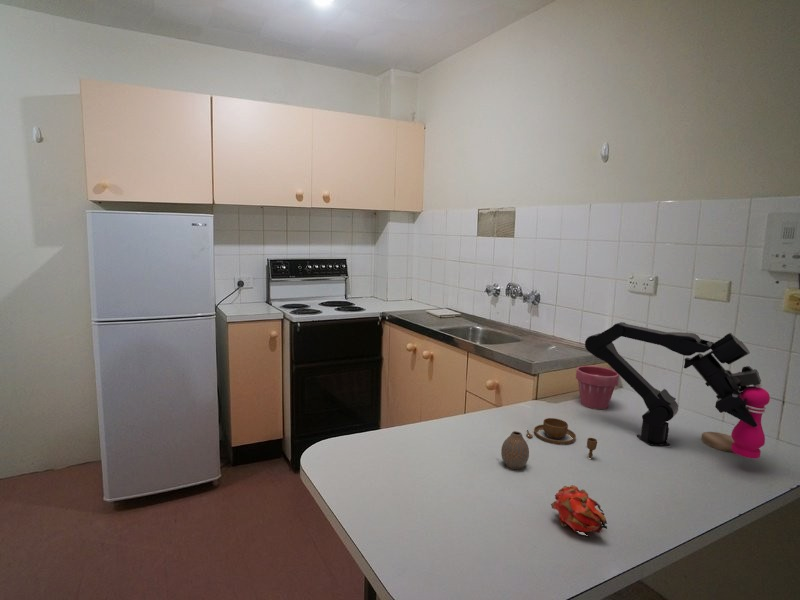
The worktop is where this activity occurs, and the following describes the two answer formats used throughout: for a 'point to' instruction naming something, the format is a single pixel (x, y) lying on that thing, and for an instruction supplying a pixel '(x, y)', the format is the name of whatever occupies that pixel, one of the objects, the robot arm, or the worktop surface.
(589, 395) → the plant pot
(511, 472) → the worktop surface
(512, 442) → the vase
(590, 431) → the worktop surface
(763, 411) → the pepper mill
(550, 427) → the place setting
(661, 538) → the worktop surface
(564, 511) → the dragon fruit
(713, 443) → the walnut base
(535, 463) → the worktop surface
